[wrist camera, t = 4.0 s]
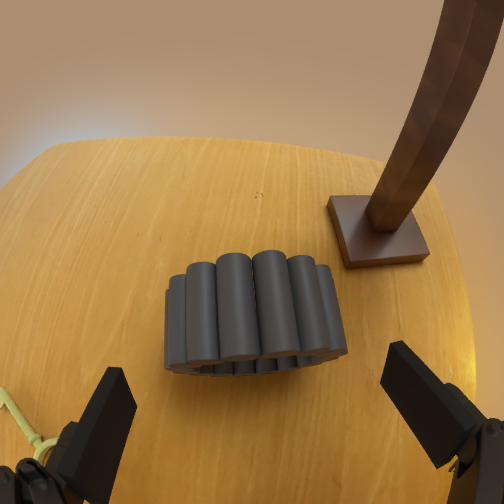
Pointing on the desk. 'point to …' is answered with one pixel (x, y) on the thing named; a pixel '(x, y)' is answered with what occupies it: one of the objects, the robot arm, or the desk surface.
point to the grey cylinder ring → (252, 316)
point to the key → (27, 427)
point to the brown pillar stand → (421, 140)
